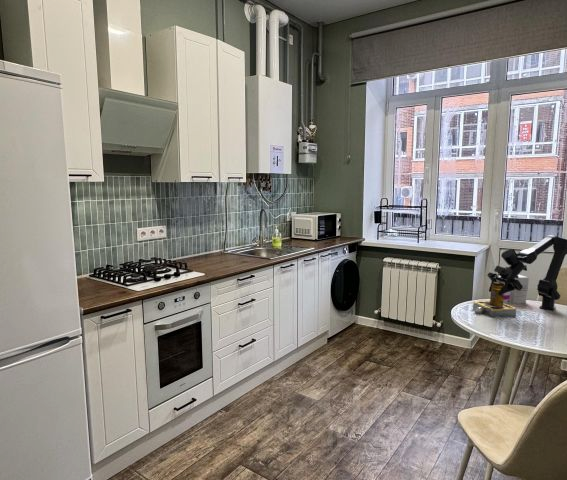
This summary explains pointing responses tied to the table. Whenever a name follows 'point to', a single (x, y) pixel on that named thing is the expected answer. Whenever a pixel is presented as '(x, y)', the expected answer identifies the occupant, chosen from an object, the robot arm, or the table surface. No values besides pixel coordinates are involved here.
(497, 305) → the condiment
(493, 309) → the gold square tray
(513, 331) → the table surface
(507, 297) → the supplement can
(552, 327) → the table surface
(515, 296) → the supplement box
